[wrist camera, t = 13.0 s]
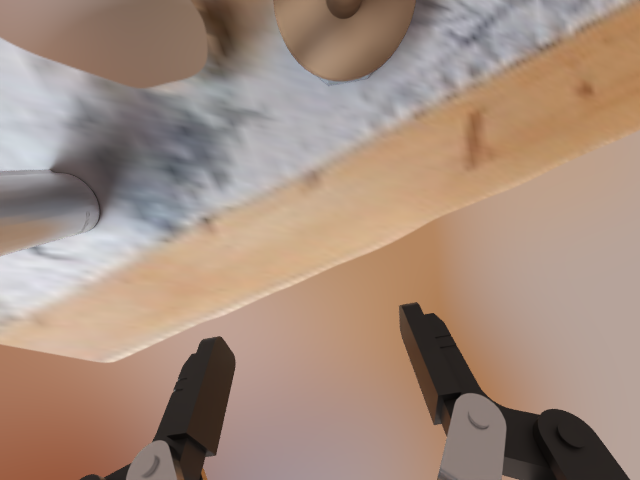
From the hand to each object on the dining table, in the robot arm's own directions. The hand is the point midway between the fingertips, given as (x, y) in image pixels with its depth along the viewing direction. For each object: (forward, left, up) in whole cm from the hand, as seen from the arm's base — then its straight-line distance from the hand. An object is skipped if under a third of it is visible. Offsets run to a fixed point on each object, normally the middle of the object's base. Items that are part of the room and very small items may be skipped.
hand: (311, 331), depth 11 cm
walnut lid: (-12, +19, -23) cm, 32 cm away
